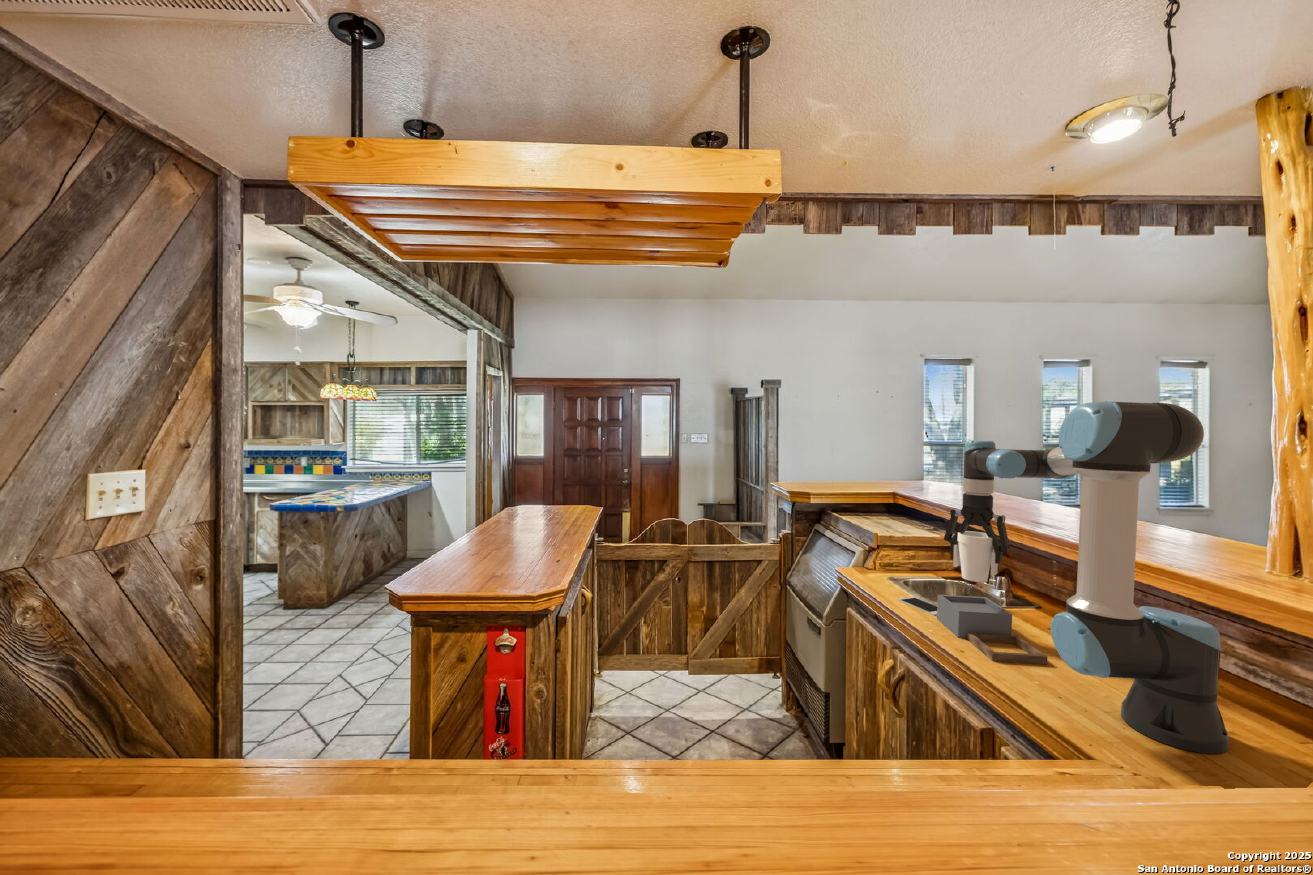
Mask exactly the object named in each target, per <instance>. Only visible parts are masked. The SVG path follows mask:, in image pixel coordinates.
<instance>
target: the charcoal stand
mask: <svg viewBox="0 0 1313 875" xmlns="http://www.w3.org/2000/svg"><path fill="white" fill-rule="evenodd" d="M936 606H937V616H936V619H937V621H938V622H940V623H941V624H942V625H943V626H944V627H945V628H947V630H949V631H950V632H951V633H952V634H954V636H955V637H956V638H960V639H967V634H968V632H969V633H986V634H1002V635H1013V633H1012V629H1013V613H1011V612H1009V611H1008V610H1006V609H1005V608H1004V607H1002V606H1001V605H999V604H997V603H996V602H994V601H992V600H991V599H990V598H988V597H987V596H972V595H971V596H970V595H969V596H968V595H952V594H937V605H936Z"/></svg>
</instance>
